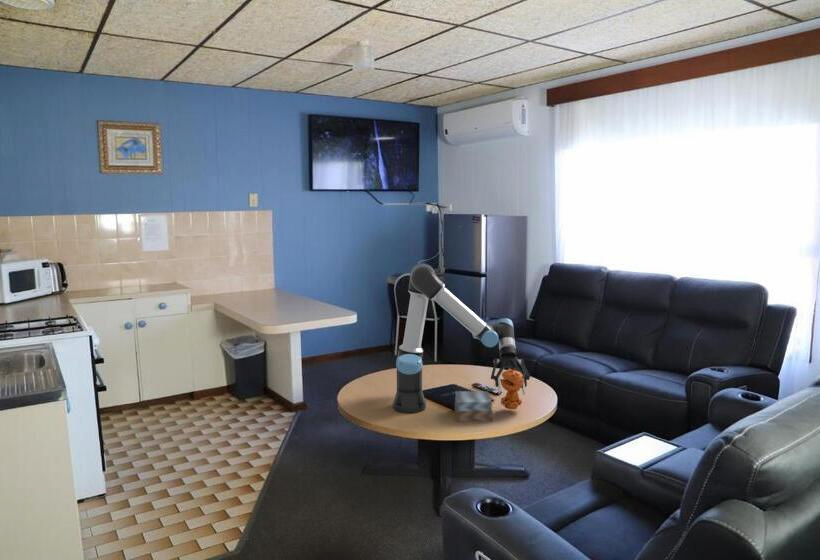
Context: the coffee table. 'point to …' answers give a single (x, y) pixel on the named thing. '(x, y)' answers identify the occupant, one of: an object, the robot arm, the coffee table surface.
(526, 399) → the coffee table surface
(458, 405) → the grey square block
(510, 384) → the orange figurine
